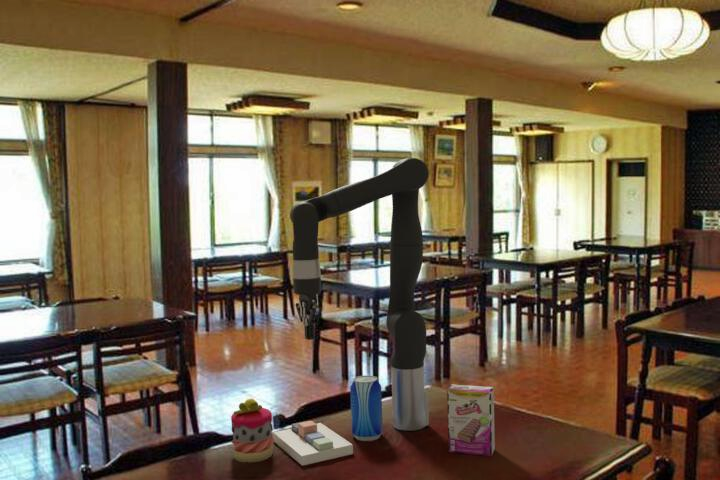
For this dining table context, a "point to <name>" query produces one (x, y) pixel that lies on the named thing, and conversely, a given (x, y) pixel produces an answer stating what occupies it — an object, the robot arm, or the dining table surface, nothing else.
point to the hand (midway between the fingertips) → (309, 338)
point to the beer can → (366, 408)
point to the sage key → (322, 444)
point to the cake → (252, 432)
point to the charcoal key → (295, 428)
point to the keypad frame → (307, 452)
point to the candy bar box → (471, 419)
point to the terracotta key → (306, 428)
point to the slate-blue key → (313, 437)
